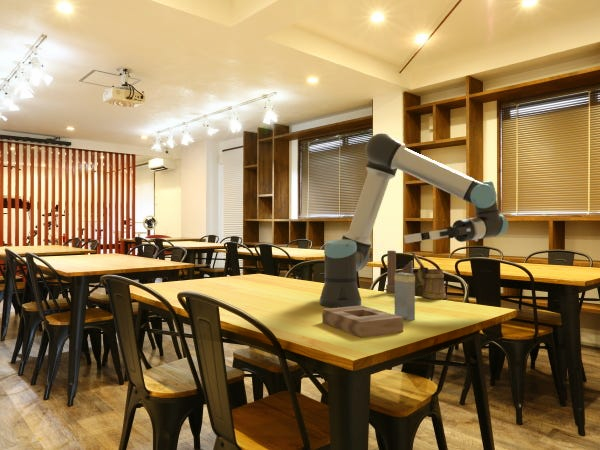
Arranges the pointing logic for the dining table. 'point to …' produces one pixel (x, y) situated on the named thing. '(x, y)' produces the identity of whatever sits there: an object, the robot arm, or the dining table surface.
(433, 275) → the wooden mug
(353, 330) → the walnut post block
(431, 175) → the robot arm
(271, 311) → the dining table surface
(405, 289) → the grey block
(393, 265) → the wooden block
